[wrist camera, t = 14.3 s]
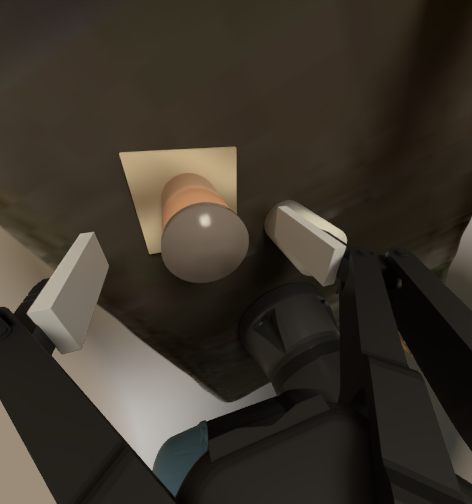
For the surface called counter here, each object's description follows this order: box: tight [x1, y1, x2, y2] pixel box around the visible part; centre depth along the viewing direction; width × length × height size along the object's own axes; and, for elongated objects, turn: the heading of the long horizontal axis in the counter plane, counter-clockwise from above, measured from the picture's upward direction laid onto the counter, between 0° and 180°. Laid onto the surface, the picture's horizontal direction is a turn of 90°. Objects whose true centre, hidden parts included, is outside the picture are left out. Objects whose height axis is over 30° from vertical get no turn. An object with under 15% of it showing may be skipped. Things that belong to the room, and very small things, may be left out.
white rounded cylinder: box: [264, 200, 347, 276], centre depth 21 cm, size 5×5×7 cm
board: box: [119, 147, 237, 254], centre depth 19 cm, size 9×9×1 cm
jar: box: [161, 173, 249, 283], centre depth 15 cm, size 5×5×8 cm
